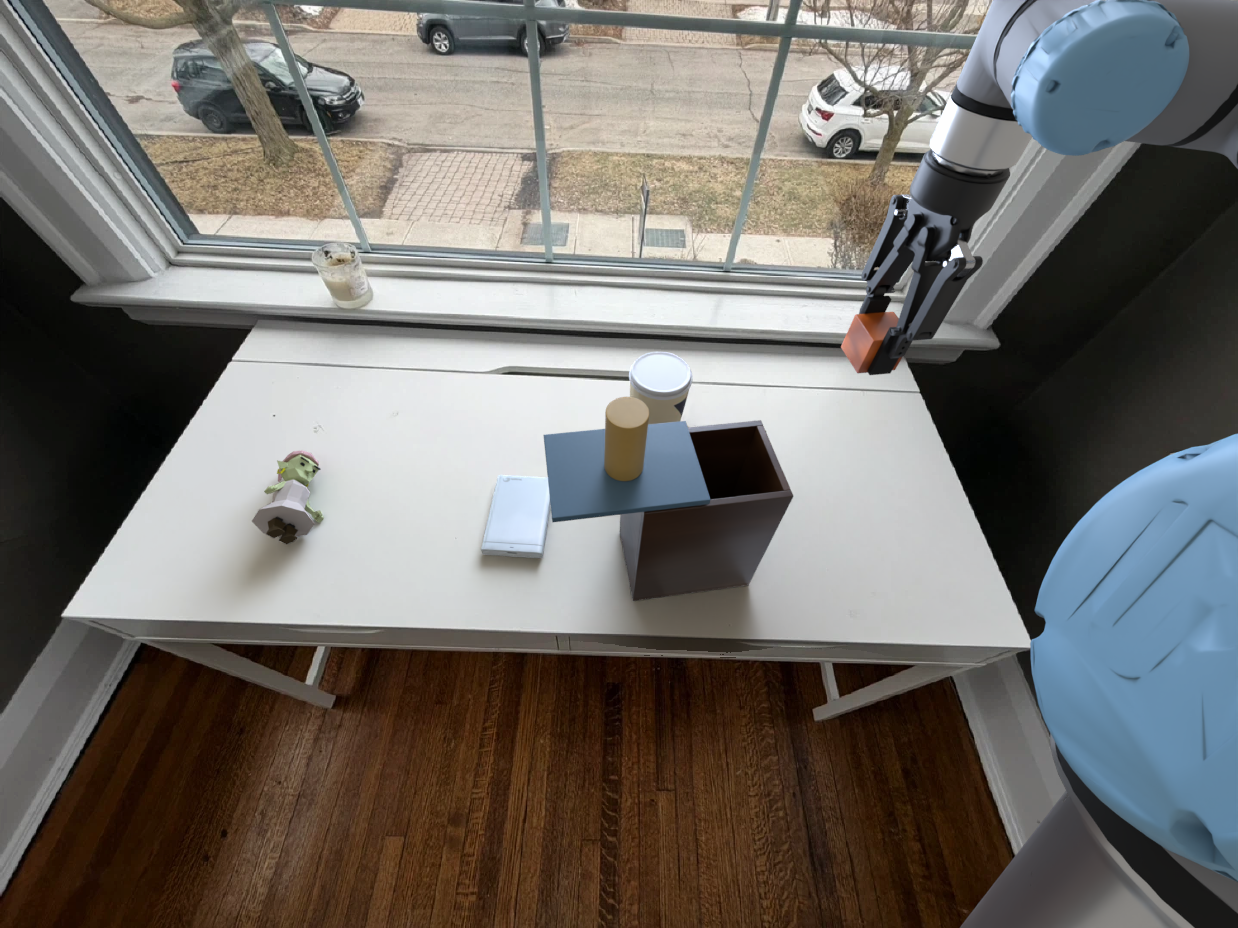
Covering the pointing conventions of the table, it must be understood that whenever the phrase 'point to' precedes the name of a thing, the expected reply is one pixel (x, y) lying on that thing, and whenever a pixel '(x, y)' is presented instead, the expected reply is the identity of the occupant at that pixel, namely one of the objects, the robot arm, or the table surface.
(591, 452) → the sliding lid
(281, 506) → the figurine
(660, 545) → the box
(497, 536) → the hard drive
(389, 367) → the table surface
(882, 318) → the block
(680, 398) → the coffee cup
